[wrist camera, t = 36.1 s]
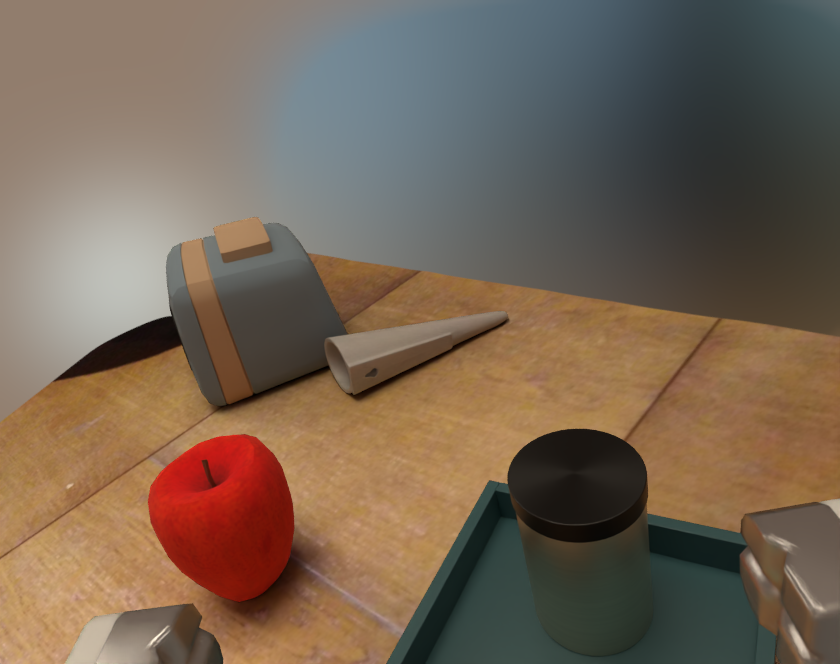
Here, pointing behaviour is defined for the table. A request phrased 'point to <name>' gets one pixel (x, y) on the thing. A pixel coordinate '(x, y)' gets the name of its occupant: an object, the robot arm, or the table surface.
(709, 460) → the table surface
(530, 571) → the travel mug
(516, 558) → the tray
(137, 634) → the robot arm
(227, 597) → the apple
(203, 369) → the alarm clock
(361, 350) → the long tapered cone
